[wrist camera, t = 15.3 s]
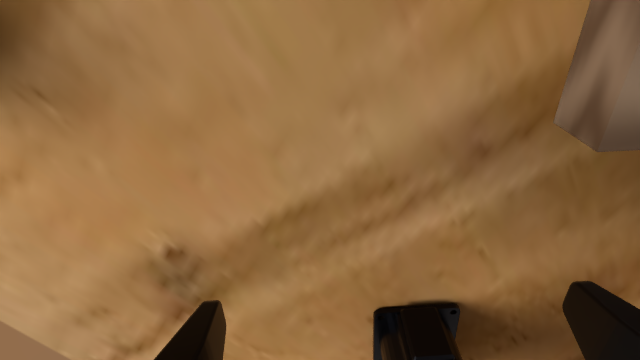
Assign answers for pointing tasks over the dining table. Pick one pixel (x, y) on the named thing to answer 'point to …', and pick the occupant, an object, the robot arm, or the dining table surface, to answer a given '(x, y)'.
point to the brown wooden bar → (605, 79)
